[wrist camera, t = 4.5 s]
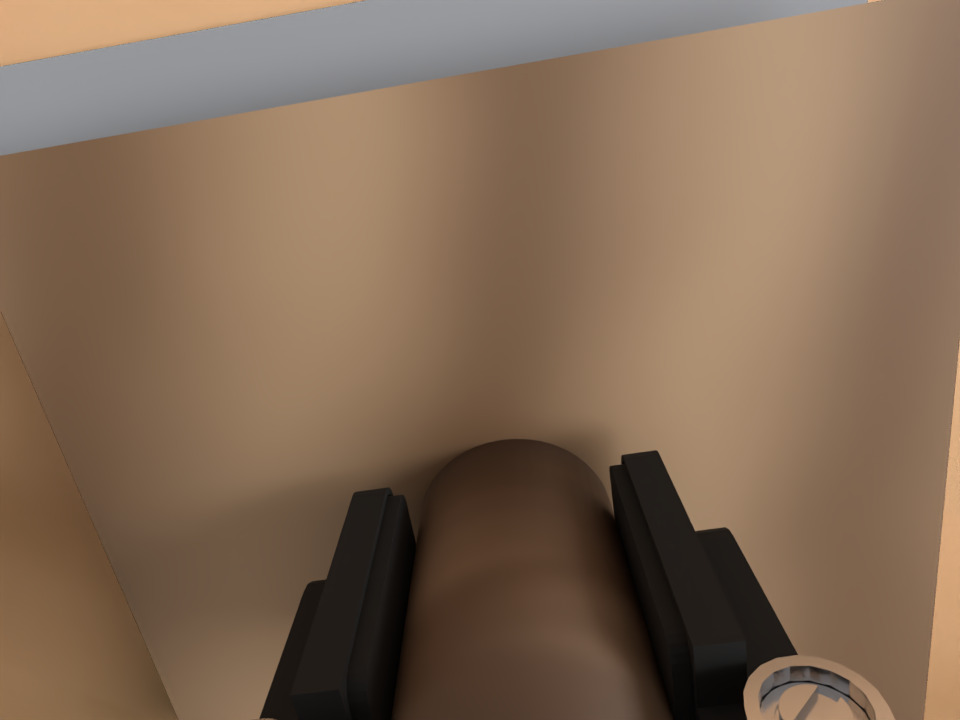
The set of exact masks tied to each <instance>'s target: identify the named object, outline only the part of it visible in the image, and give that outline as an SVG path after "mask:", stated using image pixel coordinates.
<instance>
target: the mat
mask: <svg viewBox="0 0 960 720" xmlns="http://www.w3.org/2000/svg"><path fill="white" fill-rule="evenodd" d="M865 3H868V0H366V1H360V2H355V3H349V4H344V5H338V6H333V7H327V8H322V9H316V10H311V11H305V12H300V13H294V14H289V15H283V16H278V17H272V18H267V19H261V20H255V21H250V22H244V23H239V24H233V25H228V26H222V27H217V28H211V29H206V30H200V31H195V32H189V33H184V34H178V35H173V36H167V37H162V38H156V39H151V40H145V41H140V42H134V43H129V44H123V45H117V46H112V47H106V48H101V49H95V50H90V51H84V52H79V53H73V54H68V55H62V56H57V57H51V58H46V59H40V60H35V61H29V62H24V63H18V64H13V65H7V66H2V67H0V156H2V155H7V154H13V153H19V152H24V151H30V150H36V149H41V148H47V147H53V146H58V145H64V144H70V143H75V142H81V141H87V140H92V139H98V138H104V137H110V136H115V135H121V134H127V133H132V132H138V131H144V130H149V129H155V128H161V127H166V126H172V125H178V124H183V123H189V122H195V121H200V120H206V119H212V118H217V117H223V116H229V115H234V114H240V113H246V112H251V111H257V110H263V109H269V108H274V107H280V106H286V105H291V104H297V103H303V102H308V101H314V100H320V99H325V98H331V97H337V96H342V95H348V94H354V93H359V92H365V91H371V90H376V89H382V88H388V87H393V86H399V85H405V84H410V83H416V82H422V81H428V80H433V79H439V78H445V77H450V76H456V75H462V74H467V73H473V72H479V71H484V70H490V69H496V68H501V67H507V66H513V65H518V64H524V63H530V62H535V61H541V60H547V59H552V58H558V57H564V56H570V55H575V54H581V53H587V52H592V51H598V50H604V49H609V48H615V47H621V46H626V45H632V44H638V43H643V42H649V41H655V40H660V39H666V38H672V37H677V36H683V35H689V34H694V33H700V32H706V31H711V30H717V29H723V28H729V27H734V26H740V25H746V24H751V23H757V22H763V21H768V20H774V19H780V18H785V17H791V16H797V15H802V14H808V13H814V12H819V11H825V10H831V9H836V8H842V7H848V6H853V5H859V4H865Z"/></svg>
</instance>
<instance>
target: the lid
mask: <svg viewBox="0 0 960 720" xmlns="http://www.w3.org/2000/svg"><path fill="white" fill-rule="evenodd" d="M0 311H1V313H2V315H3V317H4V320H5V322H6V324H7V327H8V329H9V331H10V334H11V336H12V338H13V340H14V343H15V345H16V347H17V350H18V352H19V354H20V357H21V359H22V361H23V363H24V366H25V368H26V370H27V373H28V375H29V377H30V380H31V382H32V384H33V386H34V389H35V391H36V393H37V396H38V398H39V400H40V403H41V405H42V407H43V409H44V412H45V414H46V416H47V419H48V421H49V423H50V426H51V428H52V430H53V432H54V435H55V437H56V439H57V442H58V444H59V446H60V449H61V451H62V453H63V455H64V458H65V460H66V462H67V465H68V467H69V469H70V472H71V474H72V476H73V479H74V481H75V483H76V485H77V488H78V490H79V492H80V495H81V497H82V499H83V502H84V504H85V506H86V508H87V511H88V513H89V515H90V518H91V520H92V522H93V525H94V527H95V529H96V531H97V534H98V536H99V538H100V541H101V543H102V545H103V548H104V550H105V552H106V554H107V557H108V559H109V561H110V564H111V566H112V568H113V571H114V573H115V575H116V577H117V580H118V582H119V584H120V587H121V589H122V591H123V594H124V596H125V598H126V600H127V603H128V605H129V607H130V610H131V612H132V614H133V617H134V619H135V621H136V623H137V626H138V628H139V630H140V633H141V635H142V637H143V640H144V642H145V644H146V646H147V649H148V651H149V653H150V656H151V658H152V660H153V663H154V665H155V667H156V669H157V672H158V674H159V676H160V679H161V681H162V683H163V686H164V688H165V690H166V692H167V695H168V697H169V699H170V702H171V704H172V706H173V709H174V711H175V713H176V716H177V718H178V720H253V719H259V718H260V715H261V712H262V709H263V706H264V703H265V701H266V698H267V695H268V692H269V689H270V686H271V683H272V681H273V678H274V675H275V672H276V669H277V666H278V663H279V661H280V658H281V655H282V652H283V649H284V646H285V644H286V641H287V638H288V635H289V632H290V629H291V626H292V624H293V621H294V618H295V615H296V612H297V609H298V606H299V604H300V601H301V598H302V595H303V592H304V590H305V588H306V586H307V584H308V583H310V582H311V581H318V580H325V579H327V575H328V572H329V569H330V566H331V563H332V559H333V556H334V553H335V550H336V547H337V544H338V540H339V537H340V534H341V531H342V528H343V524H344V521H345V518H346V515H347V512H348V508H349V505H350V502H351V499H352V496H353V494H354V492H358V491H365V490H372V489H379V488H387V487H389V488H390V489H391V491H392V493H393V496H395V495H402V494H403V495H404V497H405V499H406V502H407V506H408V511H409V515H410V519H411V523H412V528H413V532H414V536H415V540H416V550H415V557H414V564H413V570H412V577H411V584H410V591H409V598H408V605H407V612H406V619H405V626H404V633H403V639H402V646H401V653H400V660H399V667H398V674H397V681H396V688H395V695H394V702H393V708H392V715H391V720H674V718H673V715H672V711H671V708H670V705H669V701H668V698H667V695H666V691H665V688H664V684H663V681H662V678H661V674H660V671H659V667H658V664H657V661H656V657H655V654H654V651H653V647H652V644H651V640H650V637H649V634H648V630H647V627H646V623H645V620H644V617H643V613H642V610H641V606H640V603H639V600H638V596H637V593H636V590H635V586H634V583H633V579H632V576H631V573H630V569H629V566H628V562H627V559H626V556H625V552H624V549H623V546H622V542H621V539H620V535H619V532H618V529H617V525H616V522H615V518H614V510H613V500H612V491H611V482H610V472H609V467H610V466H613V465H620V464H621V456H622V455H624V454H632V453H639V452H646V451H653V450H657V451H658V452H659V454H660V456H661V458H662V461H663V463H664V465H665V467H666V469H667V471H668V474H669V476H670V478H671V480H672V482H673V484H674V486H675V489H676V491H677V493H678V495H679V497H680V499H681V502H682V504H683V506H684V508H685V510H686V512H687V514H688V517H689V519H690V521H691V523H692V525H693V527H694V530H695V531H700V530H707V529H715V528H723V527H726V528H728V529H729V530H730V531H731V533H732V534H733V536H734V538H735V540H736V541H737V543H738V545H739V547H740V549H741V551H742V552H743V554H744V556H745V558H746V560H747V562H748V564H749V565H750V567H751V569H752V571H753V573H754V575H755V576H756V578H757V580H758V582H759V584H760V586H761V587H762V589H763V591H764V593H765V595H766V597H767V599H768V600H769V602H770V604H771V606H772V608H773V610H774V611H775V613H776V615H777V617H778V619H779V621H780V622H781V624H782V626H783V628H784V630H785V632H786V634H787V635H788V637H789V639H790V641H791V643H792V645H793V646H794V648H795V650H796V652H797V654H798V655H801V656H813V657H819V658H823V659H826V660H830V661H833V662H836V663H839V664H841V665H843V666H845V667H847V668H849V669H851V670H853V671H854V672H856V673H858V674H860V675H861V676H862V677H863V678H865V679H866V680H867V681H868V682H869V683H870V684H872V685H873V686H874V687H875V688H876V689H877V690H878V691H879V693H880V694H881V696H882V697H883V699H884V700H885V701H886V703H887V704H888V706H889V708H890V710H891V712H892V714H893V716H894V718H895V720H924V710H925V699H926V689H927V678H928V668H929V657H930V646H931V636H932V625H933V615H934V604H935V594H936V583H937V573H938V562H939V552H940V541H941V530H942V520H943V509H944V499H945V488H946V478H947V467H948V457H949V446H950V436H951V425H952V414H953V404H954V393H955V383H956V372H957V362H958V351H959V341H960V0H882V1H876V2H870V3H865V4H859V5H853V6H848V7H842V8H836V9H831V10H825V11H819V12H814V13H808V14H802V15H797V16H791V17H785V18H780V19H774V20H768V21H763V22H757V23H751V24H746V25H740V26H734V27H729V28H723V29H717V30H711V31H706V32H700V33H694V34H689V35H683V36H677V37H672V38H666V39H660V40H655V41H649V42H643V43H638V44H632V45H626V46H621V47H615V48H609V49H604V50H598V51H592V52H587V53H581V54H575V55H570V56H564V57H558V58H552V59H547V60H541V61H535V62H530V63H524V64H518V65H513V66H507V67H501V68H496V69H490V70H484V71H479V72H473V73H467V74H462V75H456V76H450V77H445V78H439V79H433V80H428V81H422V82H416V83H410V84H405V85H399V86H393V87H388V88H382V89H376V90H371V91H365V92H359V93H354V94H348V95H342V96H337V97H331V98H325V99H320V100H314V101H308V102H303V103H297V104H291V105H286V106H280V107H274V108H269V109H263V110H257V111H251V112H246V113H240V114H234V115H229V116H223V117H217V118H212V119H206V120H200V121H195V122H189V123H183V124H178V125H172V126H166V127H161V128H155V129H149V130H144V131H138V132H132V133H127V134H121V135H115V136H110V137H104V138H98V139H92V140H87V141H81V142H75V143H70V144H64V145H58V146H53V147H47V148H41V149H36V150H30V151H24V152H19V153H13V154H7V155H2V156H0Z"/></svg>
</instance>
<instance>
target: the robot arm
mask: <svg viewBox="0 0 960 720" xmlns="http://www.w3.org/2000/svg"><path fill="white" fill-rule="evenodd" d="M609 472H610V482H611V491H612V500H613V510H614V518H615V522H616V525H617V529H618V532H619V535H620V539H621V542H622V546H623V549H624V552H625V556H626V559H627V562H628V566H629V569H630V573H631V576H632V579H633V583H634V586H635V590H636V593H637V596H638V600H639V603H640V606H641V610H642V613H643V617H644V620H645V623H646V627H647V630H648V634H649V637H650V640H651V644H652V647H653V651H654V654H655V657H656V661H657V664H658V667H659V671H660V674H661V678H662V681H663V684H664V688H665V691H666V695H667V698H668V701H669V705H670V708H671V711H672V715H673V718H674V720H895V718H894V716H893V714H892V712H891V710H890V708H889V706H888V704H887V703H886V701H885V700H884V699H883V697H882V696H881V694H880V693H879V691H878V690H877V689H876V688H875V687H874V686H873V685H872V684H870V683H869V682H868V681H867V680H866V679H865V678H863V677H862V676H861V675H860V674H858V673H856V672H854V671H853V670H851V669H849V668H847V667H845V666H843V665H841V664H839V663H836V662H833V661H830V660H826V659H823V658H819V657H813V656H801V655H798V654H797V652H796V650H795V648H794V646H793V645H792V643H791V641H790V639H789V637H788V635H787V634H786V632H785V630H784V628H783V626H782V624H781V622H780V621H779V619H778V617H777V615H776V613H775V611H774V610H773V608H772V606H771V604H770V602H769V600H768V599H767V597H766V595H765V593H764V591H763V589H762V587H761V586H760V584H759V582H758V580H757V578H756V576H755V575H754V573H753V571H752V569H751V567H750V565H749V564H748V562H747V560H746V558H745V556H744V554H743V552H742V551H741V549H740V547H739V545H738V543H737V541H736V540H735V538H734V536H733V534H732V533H731V531H730V530H729V529H728V528H726V527H723V528H715V529H707V530H700V531H695V530H694V527H693V525H692V523H691V521H690V519H689V517H688V514H687V512H686V510H685V508H684V506H683V504H682V502H681V499H680V497H679V495H678V493H677V491H676V489H675V486H674V484H673V482H672V480H671V478H670V476H669V474H668V471H667V469H666V467H665V465H664V463H663V461H662V458H661V456H660V454H659V452H658V451H657V450H653V451H646V452H639V453H632V454H624V455H622V456H621V464H620V465H613V466H610V467H609ZM415 550H416V540H415V536H414V532H413V528H412V523H411V519H410V515H409V511H408V506H407V502H406V499H405V497H404V495H403V494H402V495H395V496H393V493H392V491H391V489H390V488H389V487H387V488H379V489H372V490H365V491H358V492H354V494H353V496H352V499H351V502H350V505H349V508H348V512H347V515H346V518H345V521H344V524H343V528H342V531H341V534H340V537H339V540H338V544H337V547H336V550H335V553H334V556H333V559H332V563H331V566H330V569H329V572H328V575H327V579H325V580H318V581H311V582H310V583H308V584H307V586H306V588H305V590H304V592H303V595H302V598H301V601H300V604H299V606H298V609H297V612H296V615H295V618H294V621H293V624H292V626H291V629H290V632H289V635H288V638H287V641H286V644H285V646H284V649H283V652H282V655H281V658H280V661H279V663H278V666H277V669H276V672H275V675H274V678H273V681H272V683H271V686H270V689H269V692H268V695H267V698H266V701H265V703H264V706H263V709H262V712H261V715H260V718H259V719H253V720H391V715H392V708H393V702H394V695H395V688H396V681H397V674H398V667H399V660H400V653H401V646H402V639H403V633H404V626H405V619H406V612H407V605H408V598H409V591H410V584H411V577H412V570H413V564H414V557H415Z"/></svg>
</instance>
